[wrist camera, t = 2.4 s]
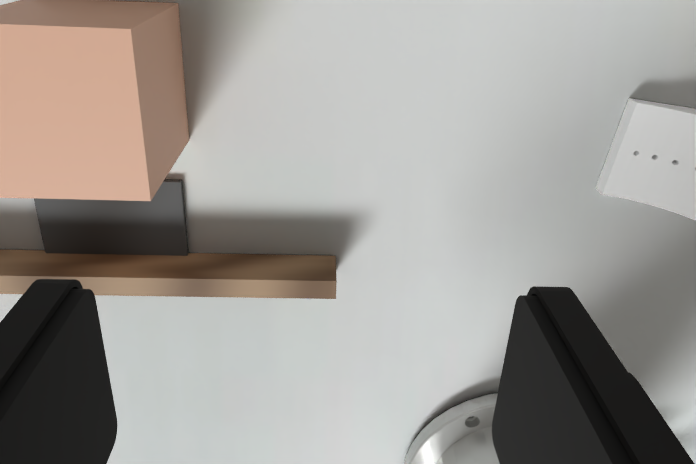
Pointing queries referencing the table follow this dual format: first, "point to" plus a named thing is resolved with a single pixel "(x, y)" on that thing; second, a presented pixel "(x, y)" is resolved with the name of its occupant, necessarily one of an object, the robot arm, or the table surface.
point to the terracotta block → (90, 98)
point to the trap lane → (152, 255)
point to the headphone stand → (653, 157)
